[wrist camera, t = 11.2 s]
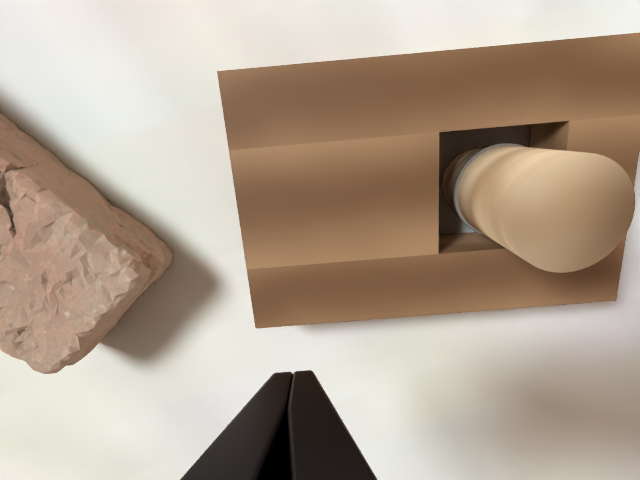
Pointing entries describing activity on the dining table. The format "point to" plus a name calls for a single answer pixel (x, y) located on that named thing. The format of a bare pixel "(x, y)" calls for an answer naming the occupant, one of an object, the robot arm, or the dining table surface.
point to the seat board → (410, 174)
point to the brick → (64, 257)
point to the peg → (542, 202)
